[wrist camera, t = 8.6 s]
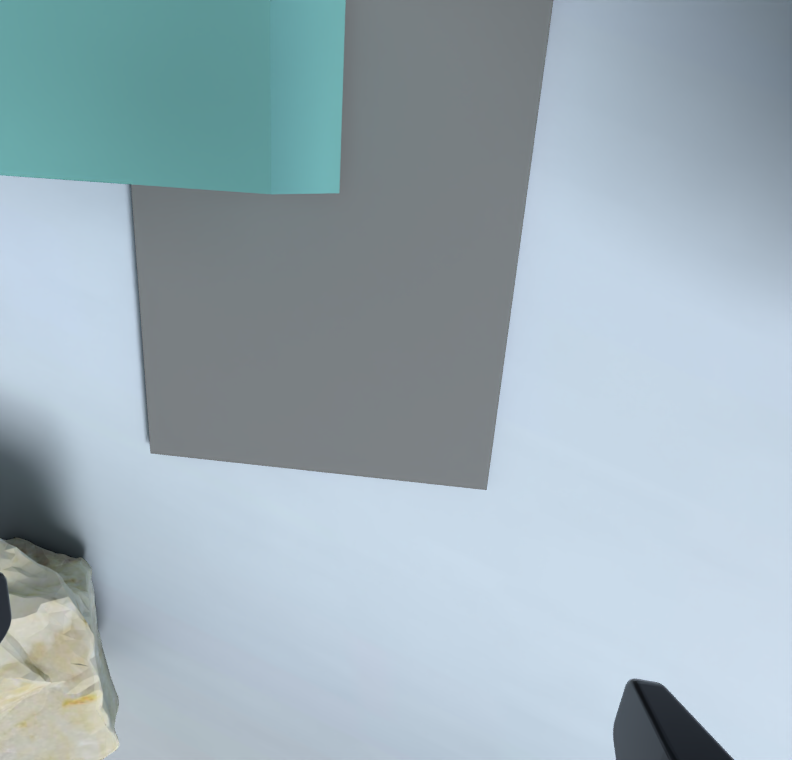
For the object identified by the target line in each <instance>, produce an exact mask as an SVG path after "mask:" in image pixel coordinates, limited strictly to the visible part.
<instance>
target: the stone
mask: <svg viewBox="0 0 792 760" xmlns="http://www.w3.org/2000/svg"><path fill="white" fill-rule="evenodd" d="M0 572H1V573H3V574H4V576H5V577H6V579H7V584H8V591H9V599H10V606H11V614H12V619H11V624H10V627H9V630H8V632H7V634H6V636H5V637H4V639H3V640H2V642H1V643H0V760H102V759H104V758H105V757H107V756H108V755H109V754H111V753H112V752H114V751H115V750H116V749H117V748H118V747H119V741H118V737H117V735H116V732H115V728H114V725H115V718H116V714H117V712H118V706H119V700H118V696H117V693H116V691H115V688H114V685H113V682H112V680H111V677H110V673H109V669H108V666H107V662H106V659H105V655H104V652H103V648H102V643H101V638H100V634H99V632H98V625H97V616H96V607H95V594H94V588H93V584H92V580H91V575H92V569H91V566H90V565H89V564H88V563H87V562H86V561H85V560H84V559H83V558H82V557H80V558H72V557H69V556H67V555H65V554H56V553H54V552H52V551H48V550H46V549H44V548H41V547H39V546H36V545H34V544H33V543H31V542H29V541H27V540H24V539H21V538H16V537H14V538H13V539H9V540H3V539H1V538H0Z"/></svg>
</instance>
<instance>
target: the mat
mask: <svg viewBox="0 0 792 760" xmlns="http://www.w3.org/2000/svg"><path fill="white" fill-rule="evenodd" d="M552 6H553V0H346V5H345V36H344V67H343V98H342V128H341V159H340V190H339V193H325V194H259V193H245V192H231V191H217V190H203V189H188V188H174V187H160V186H146V185H132V184H131V192H132V206H133V220H134V233H135V247H136V261H137V274H138V288H139V301H140V315H141V329H142V342H143V356H144V370H145V383H146V397H147V411H148V424H149V438H150V452H151V453H153V454H162V455H171V456H180V457H189V458H198V459H208V460H217V461H226V462H235V463H244V464H253V465H262V466H272V467H281V468H290V469H299V470H308V471H317V472H327V473H336V474H345V475H354V476H363V477H372V478H382V479H391V480H400V481H409V482H418V483H427V484H437V485H446V486H455V487H464V488H473V489H482V490H487V482H488V475H489V468H490V460H491V453H492V446H493V438H494V431H495V424H496V416H497V409H498V402H499V394H500V387H501V380H502V372H503V365H504V358H505V350H506V343H507V336H508V328H509V321H510V314H511V306H512V299H513V292H514V285H515V277H516V270H517V263H518V255H519V248H520V241H521V233H522V226H523V219H524V211H525V204H526V197H527V189H528V182H529V175H530V167H531V160H532V153H533V145H534V138H535V131H536V123H537V116H538V109H539V101H540V94H541V87H542V79H543V72H544V65H545V57H546V50H547V43H548V35H549V28H550V21H551V13H552Z"/></svg>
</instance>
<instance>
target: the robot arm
mask: <svg viewBox="0 0 792 760" xmlns="http://www.w3.org/2000/svg"><path fill="white" fill-rule="evenodd" d="M11 619H12V614H11V606H10V599H9V591H8V584H7V579H6V577H5V576H4V574H3V573H1V572H0V643H1V642H2V640H3V639H4V637H5V636H6V634H7V632H8V630H9V627H10V624H11ZM613 740H614V748H615V754H616V760H734V759H733V758H732V757H731V756H730V755H729V754H728V753H727V752H726V751H725V750H724V749H723V748H722V746H721V745H720V744H719V743H718V742H717V741H716V740H715V739H714V738H713V737H712V736H711V735H710V734H709V733H708V732H707V731H706V730H705V729H704V727H703V726H702V725H701V724H700V723H699V722H698V721H697V720H696V719H695V718H694V717H693V716H692V715H691V714H690V713H689V712H688V711H687V710H686V708H685V707H684V706H683V705H682V704H681V703H680V702H679V701H678V700H677V699H676V698H675V697H674V696H673V695H672V694H671V693H670V692H669V691H668V689H667V688H665V687H664V686H663V685H662V684H660V683H657V682H653V681H647V680H641V679H631V680H629V681H628V682H627V684H626V686H625V689H624V692H623V696H622V699H621V702H620V705H619V708H618V712H617V715H616V718H615V722H614V728H613Z"/></svg>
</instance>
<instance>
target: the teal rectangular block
mask: <svg viewBox="0 0 792 760" xmlns="http://www.w3.org/2000/svg"><path fill="white" fill-rule="evenodd" d="M345 5H346V0H0V175H5V176H20V177H34V178H48V179H62V180H76V181H90V182H104V183H118V184H132V185H146V186H160V187H174V188H188V189H203V190H217V191H231V192H245V193H259V194H325V193H339V190H340V159H341V128H342V98H343V67H344V36H345Z"/></svg>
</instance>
